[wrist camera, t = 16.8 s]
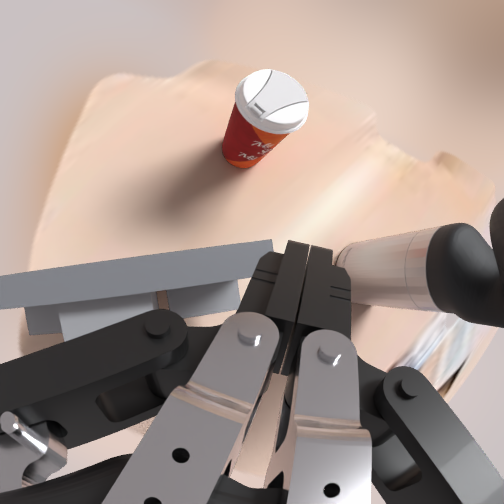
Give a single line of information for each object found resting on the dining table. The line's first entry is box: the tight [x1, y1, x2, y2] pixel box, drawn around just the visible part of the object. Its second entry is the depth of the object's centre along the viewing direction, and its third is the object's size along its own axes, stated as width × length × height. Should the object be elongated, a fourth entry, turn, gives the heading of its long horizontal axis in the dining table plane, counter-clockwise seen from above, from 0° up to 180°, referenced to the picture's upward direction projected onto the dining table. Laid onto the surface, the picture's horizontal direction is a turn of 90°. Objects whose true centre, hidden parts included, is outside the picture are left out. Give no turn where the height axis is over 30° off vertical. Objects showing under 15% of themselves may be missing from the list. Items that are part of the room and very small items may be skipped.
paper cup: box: [222, 69, 309, 168], centre depth 32 cm, size 8×8×14 cm
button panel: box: [0, 239, 274, 342], centre depth 24 cm, size 6×21×20 cm, turn 99°
